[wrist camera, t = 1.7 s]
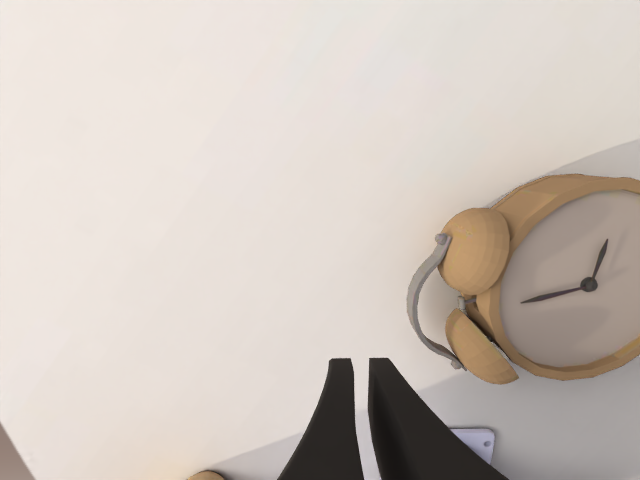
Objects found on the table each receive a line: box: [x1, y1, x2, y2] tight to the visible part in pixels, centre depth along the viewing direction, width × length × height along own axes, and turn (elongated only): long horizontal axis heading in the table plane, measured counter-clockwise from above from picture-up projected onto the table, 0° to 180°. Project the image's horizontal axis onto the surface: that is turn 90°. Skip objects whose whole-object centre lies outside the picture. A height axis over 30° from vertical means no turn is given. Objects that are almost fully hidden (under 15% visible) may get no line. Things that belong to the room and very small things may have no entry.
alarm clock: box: [407, 174, 640, 384], centre depth 18 cm, size 11×5×15 cm
